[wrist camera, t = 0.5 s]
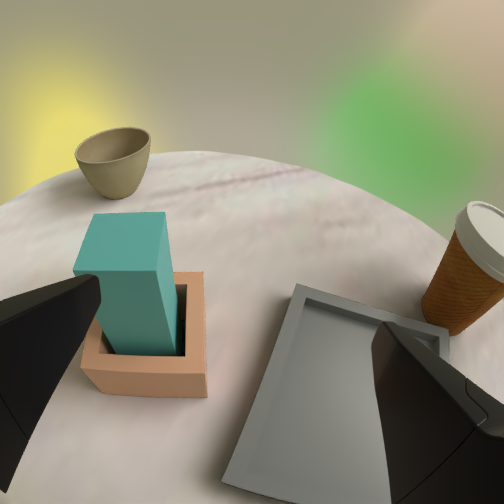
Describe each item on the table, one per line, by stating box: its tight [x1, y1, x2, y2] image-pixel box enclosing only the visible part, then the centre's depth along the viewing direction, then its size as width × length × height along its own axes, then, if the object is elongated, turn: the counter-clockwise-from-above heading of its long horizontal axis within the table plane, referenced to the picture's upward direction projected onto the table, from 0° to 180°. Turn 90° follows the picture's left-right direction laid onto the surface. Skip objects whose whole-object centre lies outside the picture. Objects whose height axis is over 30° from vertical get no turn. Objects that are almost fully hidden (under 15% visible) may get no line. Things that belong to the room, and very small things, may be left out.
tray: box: [221, 283, 450, 504], centre depth 21 cm, size 18×16×2 cm
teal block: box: [73, 212, 182, 357], centre depth 20 cm, size 4×4×12 cm
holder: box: [80, 272, 208, 398], centre depth 23 cm, size 8×8×5 cm
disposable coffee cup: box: [422, 201, 504, 336], centre depth 25 cm, size 10×10×12 cm
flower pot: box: [75, 127, 151, 199], centre depth 37 cm, size 10×10×7 cm
